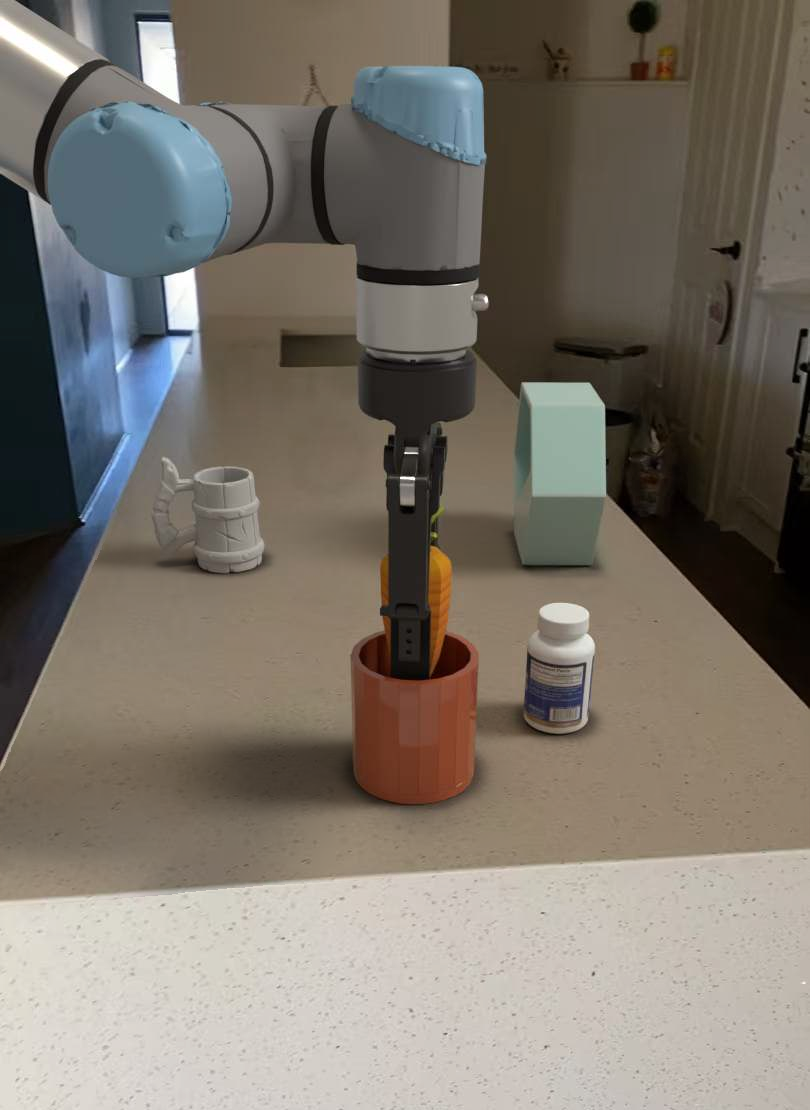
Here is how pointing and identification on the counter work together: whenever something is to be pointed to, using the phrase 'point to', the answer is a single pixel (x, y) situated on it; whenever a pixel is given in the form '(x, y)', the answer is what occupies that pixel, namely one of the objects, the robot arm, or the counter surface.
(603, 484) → the planter
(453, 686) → the cup
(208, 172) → the robot arm
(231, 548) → the mug
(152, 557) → the counter surface
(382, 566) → the carrot
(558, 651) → the pill bottle
